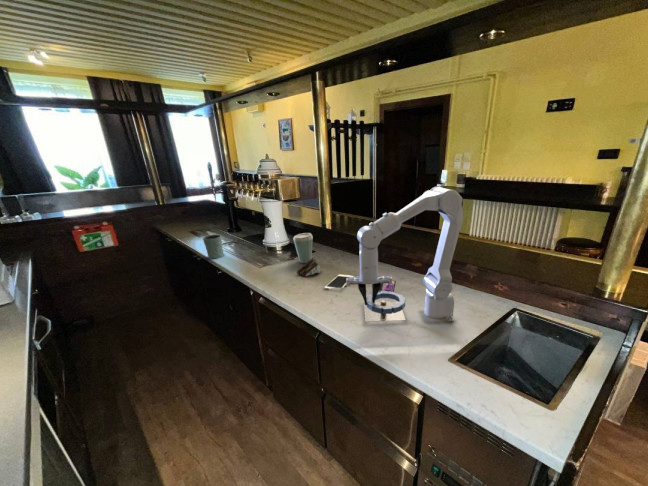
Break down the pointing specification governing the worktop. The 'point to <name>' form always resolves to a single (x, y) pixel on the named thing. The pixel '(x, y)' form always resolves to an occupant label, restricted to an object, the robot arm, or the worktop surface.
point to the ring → (386, 309)
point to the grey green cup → (213, 246)
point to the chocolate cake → (309, 268)
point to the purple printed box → (389, 286)
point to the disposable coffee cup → (304, 246)
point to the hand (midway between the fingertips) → (369, 303)
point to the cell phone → (338, 282)
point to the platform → (374, 316)
